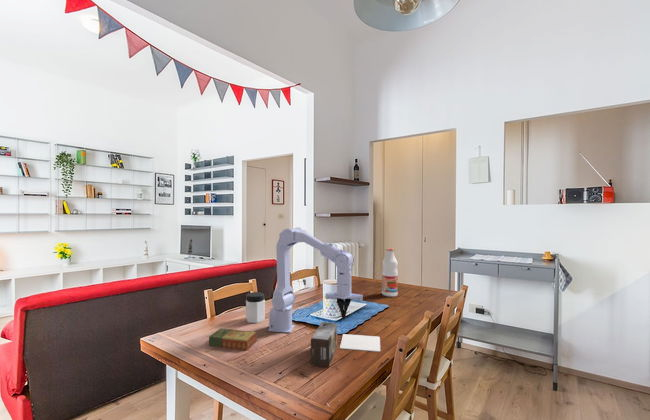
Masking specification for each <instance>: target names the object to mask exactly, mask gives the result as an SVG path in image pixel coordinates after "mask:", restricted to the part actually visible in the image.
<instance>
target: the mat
mask: <svg viewBox="0 0 650 420" xmlns="http://www.w3.org/2000/svg"><path fill="white" fill-rule="evenodd" d="M339 349H340V350H351V351H352V350H353V351H365V352H375V353H376V352H377V353H381V338H380V336H377V335H376V336H375V335H374V336H373V335H363V334H348V333H347V334H346V333H343V334H342V338H341V342H340V346H339Z"/></svg>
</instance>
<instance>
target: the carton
mask: <svg viewBox="0 0 650 420" xmlns="http://www.w3.org/2000/svg"><path fill="white" fill-rule="evenodd" d="M257 336H258V335H257V331H252V330H249V331H248V330H241V329H231V328H221V327H220V328H219V329H218V330H216V331H215V332H214V333H212V334H210V335H209V336H208V346H209V347H216V348H225V349H231V350H240V351H248V350H249V349H250V348H252V347H253V346H254V345H255V344H256V343H257V341H258V337H257Z"/></svg>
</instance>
